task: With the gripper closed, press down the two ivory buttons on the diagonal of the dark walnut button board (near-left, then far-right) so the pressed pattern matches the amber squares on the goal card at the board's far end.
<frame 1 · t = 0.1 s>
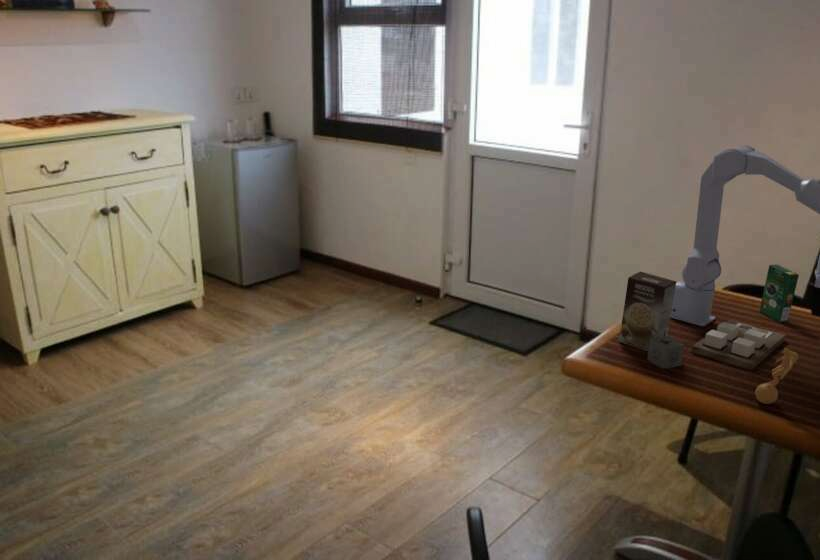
button B: (754, 338, 165), point 3 cm above the table, slide at 0.0 cm
grey cube with symbol: (663, 363, 158), on the table
button D: (743, 347, 160), point 3 cm above the table, slide at 0.0 cm
board: (739, 346, 168), on the table
coffee box 2: (773, 317, 187), on the table
coffee box: (642, 345, 168), on the table
figurine: (770, 404, 142), on the table
button C: (716, 339, 164), point 3 cm above the table, slide at 0.0 cm
button A: (727, 331, 169), point 3 cm above the table, slide at 0.0 cm
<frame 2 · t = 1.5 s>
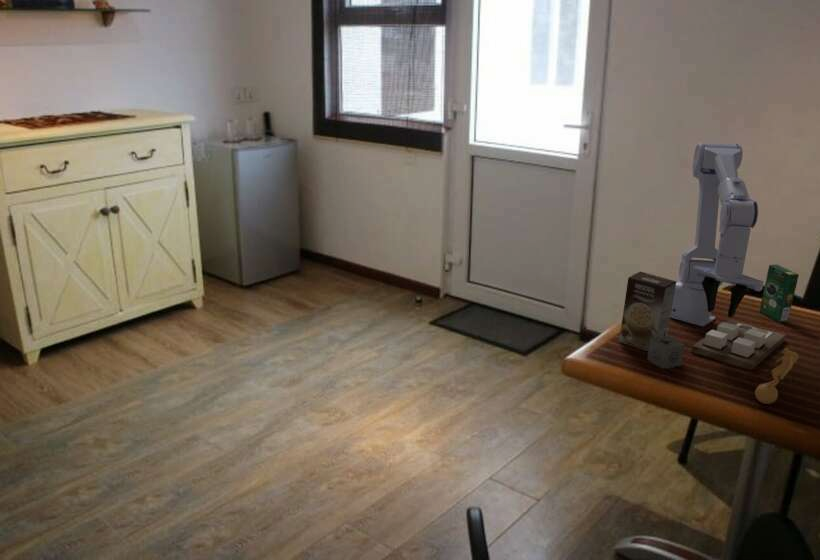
hand: (720, 313, 162), 9 cm above the table, tool pointing down, fingers open, 4 cm apart
nothing on the table moved.
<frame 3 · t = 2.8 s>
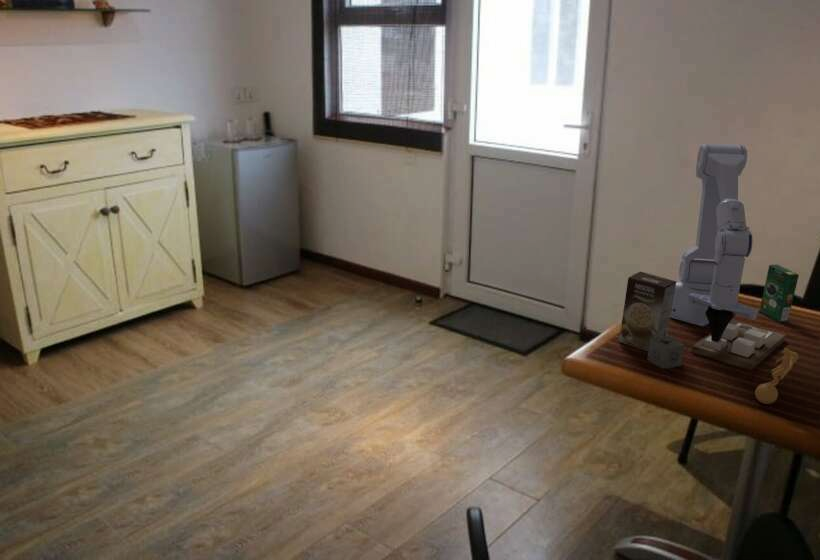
hand: (715, 340, 164), 3 cm above the table, tool pointing down, fingers closed, pressing on button C
button C: (715, 345, 164), point 2 cm above the table, slide at 1.5 cm, touching gripper
everything else where it was.
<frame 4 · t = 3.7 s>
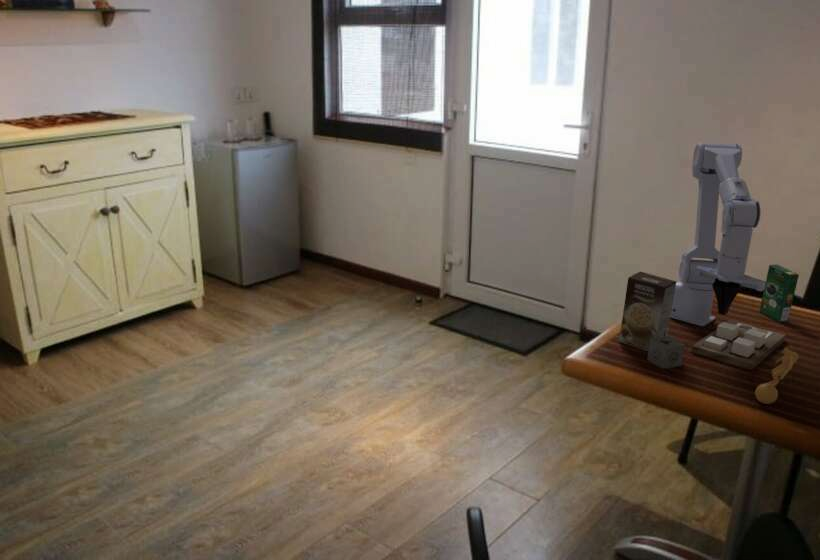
hand: (722, 313, 162), 9 cm above the table, tool pointing down, fingers closed
button C: (714, 345, 164), point 2 cm above the table, slide at 1.6 cm
everything else where it was.
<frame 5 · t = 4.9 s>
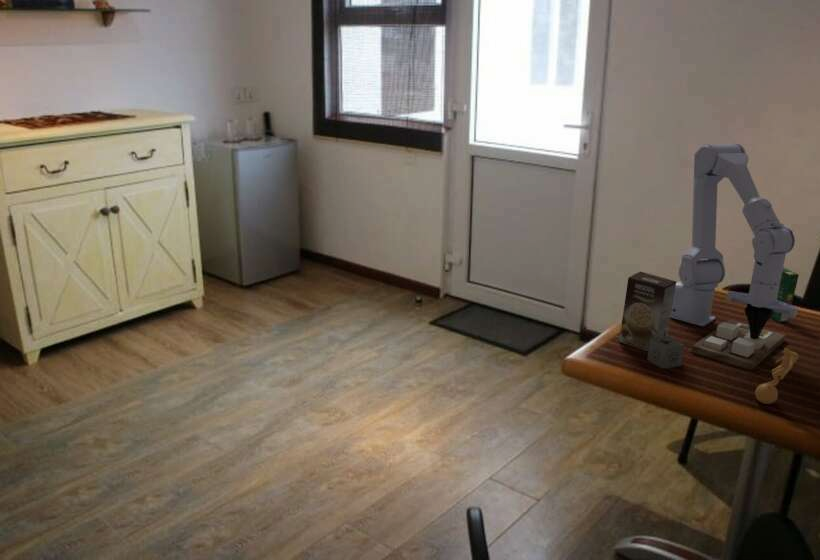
hand: (754, 337, 165), 3 cm above the table, tool pointing down, fingers closed, pressing on button B
button B: (753, 342, 165), point 2 cm above the table, slide at 1.0 cm, touching gripper
everything else where it was.
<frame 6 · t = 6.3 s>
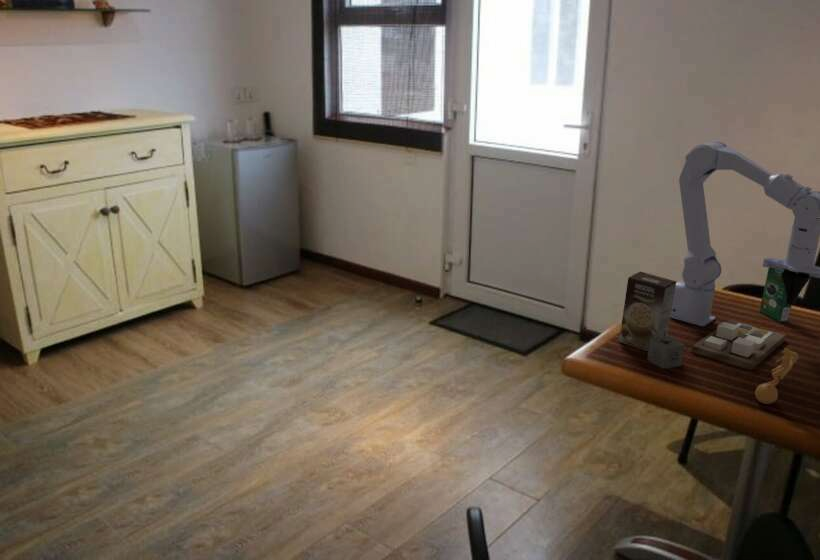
hand: (790, 303, 167), 10 cm above the table, tool pointing down, fingers closed
button B: (752, 344, 165), point 2 cm above the table, slide at 1.6 cm
everything else where it was.
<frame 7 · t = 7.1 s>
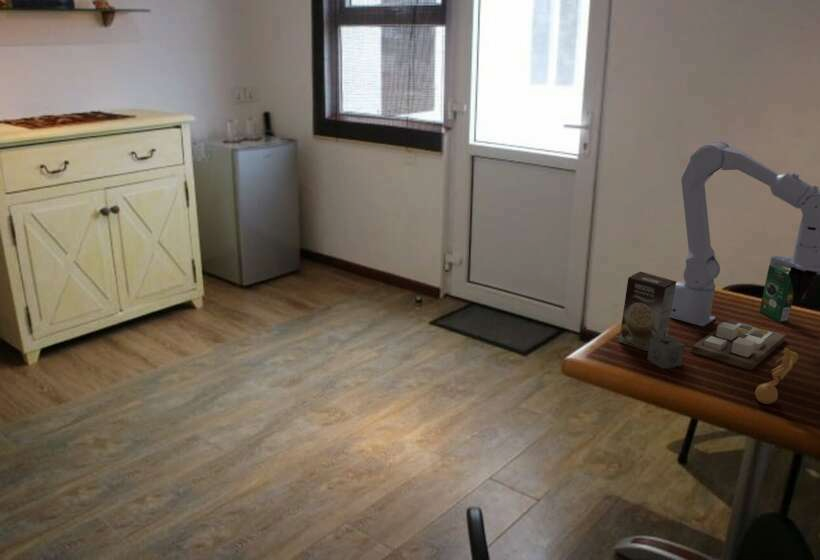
hand: (797, 301, 168), 10 cm above the table, tool pointing down, fingers closed
nothing on the table moved.
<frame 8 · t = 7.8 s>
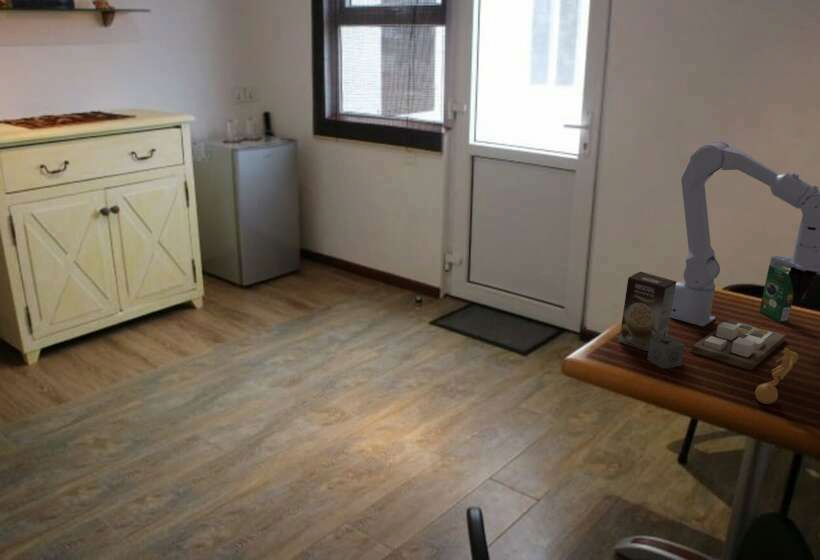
hand: (797, 301, 168), 10 cm above the table, tool pointing down, fingers closed
nothing on the table moved.
at the end: button C slide at 1.6 cm; button B slide at 1.6 cm; button A slide at 0.0 cm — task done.
